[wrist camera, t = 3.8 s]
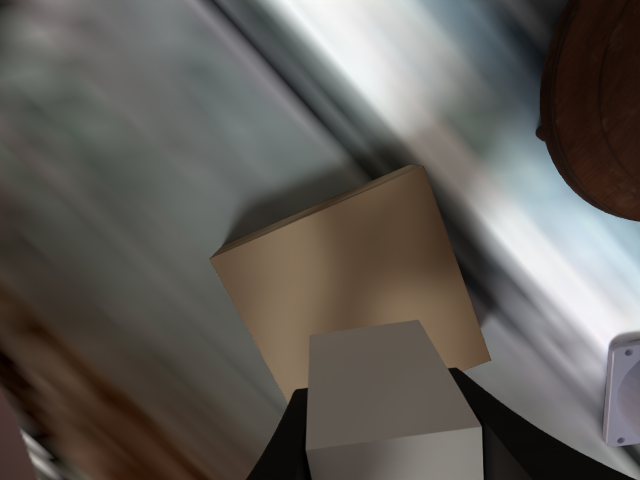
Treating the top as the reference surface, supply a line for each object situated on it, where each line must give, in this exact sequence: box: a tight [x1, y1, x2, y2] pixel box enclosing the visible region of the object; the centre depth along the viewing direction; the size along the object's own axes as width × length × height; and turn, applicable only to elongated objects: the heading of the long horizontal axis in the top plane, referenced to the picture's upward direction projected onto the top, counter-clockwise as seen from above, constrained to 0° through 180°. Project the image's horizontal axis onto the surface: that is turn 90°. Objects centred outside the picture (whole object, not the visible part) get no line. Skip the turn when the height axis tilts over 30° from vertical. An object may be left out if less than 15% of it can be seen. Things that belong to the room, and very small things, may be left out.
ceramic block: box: [306, 319, 484, 480], centre depth 12 cm, size 4×4×6 cm
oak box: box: [210, 164, 491, 404], centre depth 20 cm, size 12×12×3 cm
